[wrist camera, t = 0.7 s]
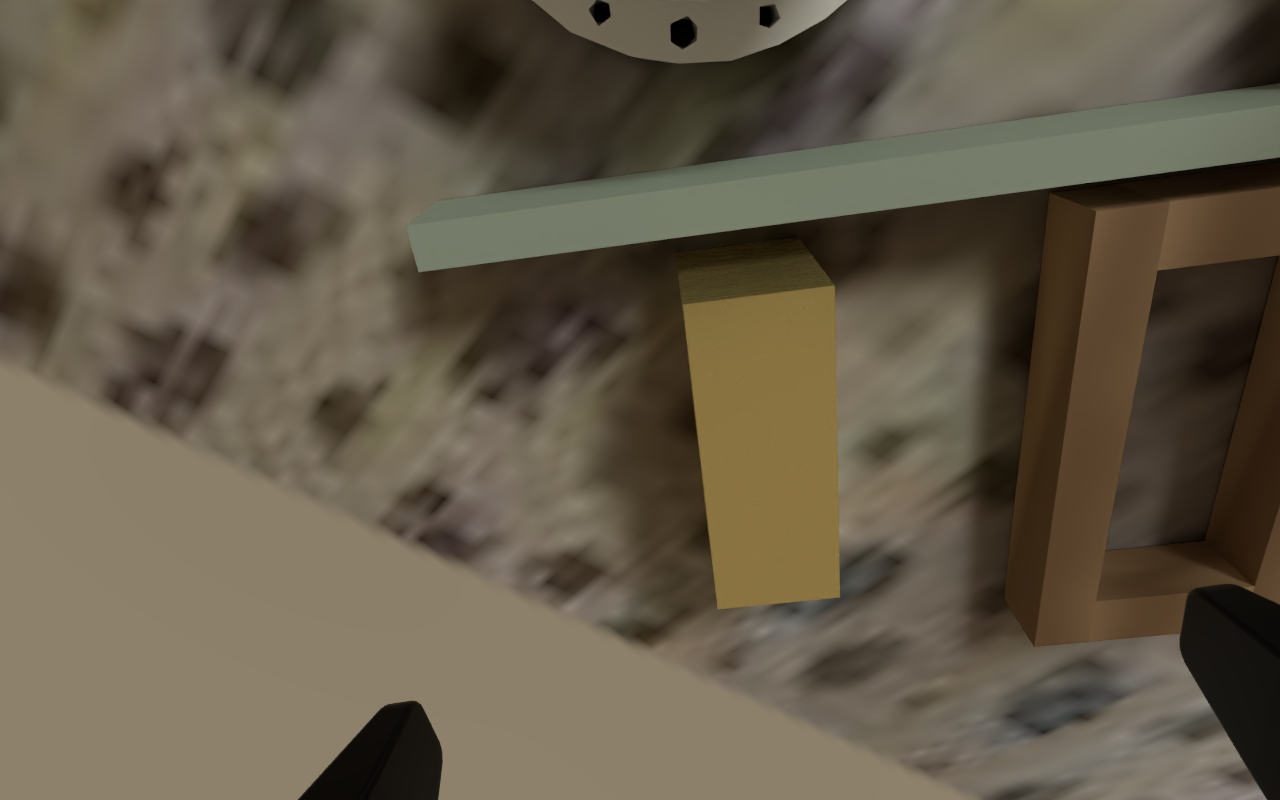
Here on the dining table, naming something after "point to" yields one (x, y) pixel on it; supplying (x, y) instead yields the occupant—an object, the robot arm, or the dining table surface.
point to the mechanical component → (719, 17)
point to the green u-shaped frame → (853, 178)
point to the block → (765, 418)
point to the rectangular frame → (1102, 402)
